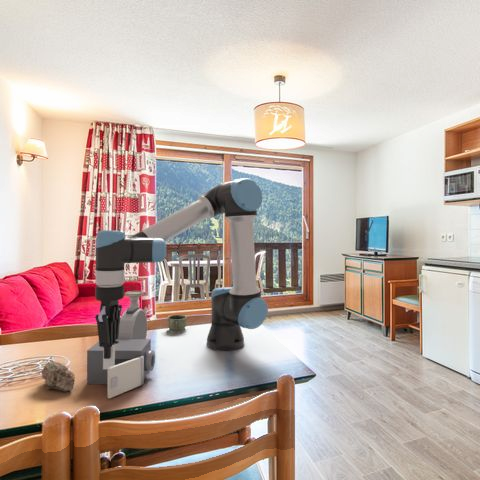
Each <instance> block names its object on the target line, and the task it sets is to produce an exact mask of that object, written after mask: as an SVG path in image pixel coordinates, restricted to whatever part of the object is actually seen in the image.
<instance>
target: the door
mask: <svg viewBox="0 0 480 480" xmlns="http://www.w3.org/2000/svg"><path fill="white" fill-rule="evenodd" d="M144 381H145V379H144V356H140V357H138V358H135V359H132V360H129V361H126V362H123V363H120V364H117V365H114V366H111V367H109V368H108V384H107V398H108V399H112V398H114V397H116V396H119V395H121V394H124V393H125V392H128V391H130V390H133V389H135V388H137V387H140V386H143V385H144V384H145V382H144Z"/></svg>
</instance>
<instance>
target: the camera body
mask: <svg viewBox="0 0 480 480" xmlns="http://www.w3.org/2000/svg"><path fill="white" fill-rule="evenodd" d="M151 340H152V339H151V338H149V339H148V338H146V339H116V341H119V342H118V344H115V365H117V364H120V363H123V362H126V361H129V360H132V359H135V358H138V357H140V356H144V380H145V379H146V377H147V376H148V374H149V372H152V371H153V370H154V368H155V364H156V351H155V350H154V349H153V350H152V349H151V348H152V345H151V343H152V341H151ZM86 384H87V385H108V369H103V347H100V346H99V341H97V342H95V344H93V345H92V346H91V347H90V348H88V349H87V350H86Z"/></svg>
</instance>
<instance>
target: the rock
mask: <svg viewBox="0 0 480 480" xmlns="http://www.w3.org/2000/svg"><path fill="white" fill-rule="evenodd" d="M75 376H76V375H75V373H74V372H72V371H71V370H69V369H68V367H67V366H66V365H64V364H62V363H60V362H58V361H54V360H51V361H48V362H47V363H46V364H45V366H44V367H43V369H42V370H41V378H42V379H43V380H44V381H45V382H44V383H45V385H44V387H45V388H46V389H48V390H52V389H53V390H58V391H61V392H64V393H65V392H68V391H72V390H73V389H74V385H75V378H76V377H75Z"/></svg>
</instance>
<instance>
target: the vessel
mask: <svg viewBox="0 0 480 480" xmlns="http://www.w3.org/2000/svg"><path fill="white" fill-rule="evenodd" d="M187 324H188V323H187V315H184V314H171V315H168V316H167V324H166V325H167V327H168V328H169V329H168V332H170V333H175V334H177V333H182V332H183V333H184V332H185V331H186V327H187Z"/></svg>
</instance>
